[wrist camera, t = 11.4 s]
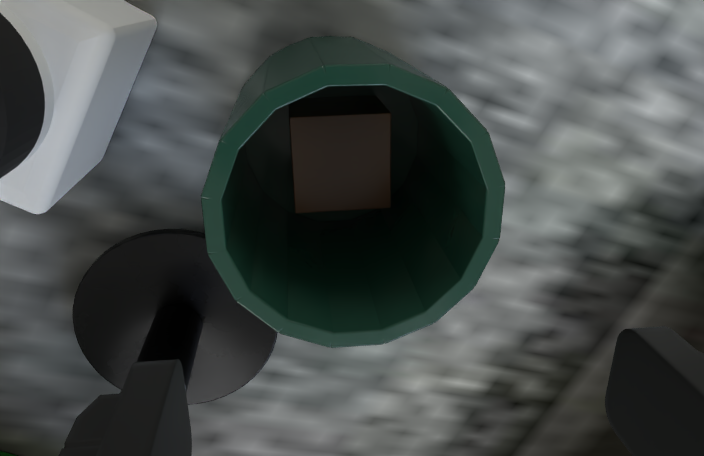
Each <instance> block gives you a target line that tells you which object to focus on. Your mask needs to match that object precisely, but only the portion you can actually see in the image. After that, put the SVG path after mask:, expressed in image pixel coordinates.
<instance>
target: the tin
mask: <svg viewBox="0 0 704 456" xmlns="http://www.w3.org/2000/svg"><path fill="white" fill-rule="evenodd" d="M354 96H377V97H378V98H379V100H380V101H381V102H382V103H383V104H384V105H385V107H386V108H387V109H388V110H389V111H390V112H391V207H390V208H380V209H363V210H345V211H328V212H311V213H295V205H294V190H293V174H292V158H291V142H290V126H289V104H290V103H293V102H295V101H297V100H299V99H303V98H329V97H354ZM504 193H505V181H504V178H503V175H502V172H501V169H500V166H499V163H498V160H497V157H496V154H495V151H494V147H493V144H492V141H491V138H490V135H489V133H488V132H487V130H486V128H485V127H484V126H483V125H482V124H481V123H480V122H479V121H478V120H477V119H476V117H475V116H474V115H473V114H472V113H471V112H470V111H469V110H468V109H467V108H466V107H465V106H464V104H463V103H462V102H461V101H460V100H459V99H458V98H457V97H456V96H455V95H454V94H453V93H452V91H451V90H450V89H448V88H446V86H444V85H442V84H441V83H439V82H437V81H436V80H434V79H432V78H431V77H429V76H427V75H426V74H424V73H422V72H421V71H419V70H417V69H416V68H414V67H412V66H411V65H409V64H407V63H406V62H404V61H402V60H401V59H399V58H397V57H396V56H394V55H392V54H391V53H389V52H387V51H385V50H382V49H380V48H377V47H375V46H373V45H371V44H369V43H366V42H363V41H361V40H359V39H356V38H354V37H339V36H324V37H310V38H307V39H304V40H302V41H299V42H297V43H294V44H291V45H289V46H287V47H285V48H284V49H282V50H280V51H278V52H276V53H274V54H272V56H269V58H268V59H267V60H266V61H265V62H264V63H263V64H262V65H261V66H260V67H259V68H258V69H257V70H256V71H255V73H254V74H253V75H252V76H251V78H250V79H249V80H248V81H247V82H246V83H245V84H244V86H243V88H242V90H241V92H240V94H239V97H238V99H237V101H236V104H235V106H234V108H233V110H232V113H231V115H230V117H229V119H228V122H227V124H226V126H225V129H224V131H223V133H222V135H221V138H220V140H219V143H218V146H217V149H216V152H215V155H214V158H213V161H212V164H211V167H210V170H209V173H208V176H207V179H206V182H205V185H204V188H203V191H202V194H201V197H202V198H201V204H202V212H203V221H204V230H205V239H206V248H207V252H208V256H209V257H210V259H211V261H212V263H213V264H214V266H215V268H216V269H217V271H218V273H219V274H220V276H221V278H222V279H223V281H224V283H225V284H226V286H227V288H228V290H229V291H230V293H231V295H232V296H233V298H234V299H235V300H236V301H237V303H239V304H240V305H241V306H243V307H244V308H245V309H247V310H248V311H249V312H251V313H252V314H254V315H255V316H256V317H258V318H259V319H260V320H262V321H263V322H264V323H266V324H267V325H268V326H270V327H271V328H272V329H274V330H275V331H276V332H279V333H280V334H283V335H287V336H290V337H294V338H298V339H301V340H305V341H308V342H312V343H315V344H319V345H322V346H326V347H330V346H331V348H336V347H351V346H366V345H381V344H384V343H388V342H391V341H393V340H395V339H398V338H400V337H403V336H405V335H407V334H410V333H412V332H415V331H417V330H419V329H422V328H424V327H427V326H429V325H431V324H433V323H435V322H437V321H438V320H439V319H440V318H441V317H442V316H443V315H444V314H446V313H447V312H448V311H449V310H450V309H451V308H452V307H453V306H454V305H456V304H457V303H458V302H459V301H460V300H461V299H462V298H463V297H465V296H466V295H467V294H468V293H469V292H470V291H471V290H472V289H473V288H474V287H475V286H476V284H477V282H478V280H479V278H480V276H481V274H482V272H483V270H484V269H485V267H486V265H487V263H488V261H489V259H490V257H491V255H492V254H493V252H494V250H495V248H496V246H497V244H498V242H499V238H500V232H501V222H502V212H503V203H504Z"/></svg>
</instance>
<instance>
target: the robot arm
mask: <svg viewBox="0 0 704 456" xmlns="http://www.w3.org/2000/svg"><path fill="white" fill-rule="evenodd" d="M605 407H606V413H607V417H608V420H609V422H610V425H611V427H612V429H613V430H614V432H615V433H616V434H617V436H618V437H619V438H620V440H621V441H622V442H623V444H624V445H625V446H626V447H627V449H628V450H629V451H630V453H631V454H632V455H633V456H704V354H703V353H701V352H699V351H697V350H696V349H695V348H693V347H692V346H691V345H690V344H689V343H687V342H686V341H685V340H684V339H683V338H682V337H680V336H679V335H678V334H677V333H676V332H675V331H673V330H672V329H671V328H668V327H665V326H662V327H647V328H633V329H625V330H623V331H622V332H621V333H620V334H619V336H618V338H617V342H616V347H615V352H614V357H613V362H612V367H611V372H610V376H609V381H608V386H607V391H606V397H605ZM191 452H192V438H191V427H190V419H189V412H188V405H187V398H186V390H185V383H184V376H183V369H182V364H181V362H180V360H179V359H174V360H159V361H145V362H134V363H133V364H132V366H131V368H130V371H129V373H128V376H127V378H126V381H125V383H124V386H123V388H122V391H121V393H120V394H109V395H100V396H99V397H98V398H97V399H96V400H95V401H94V402H92V403H91V404H90V405H89V406H88V407H87V408H86V409H85V410H84V411H83V412H82V413H81V414H80V415H79V416H78V417H77V418H76V420H75V422H74V424H73V427H72V429H71V431H70V433H69V435H68V437H67V439H66V441H65V447H64V448H62V450H61V452H60V454H59V456H191Z"/></svg>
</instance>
